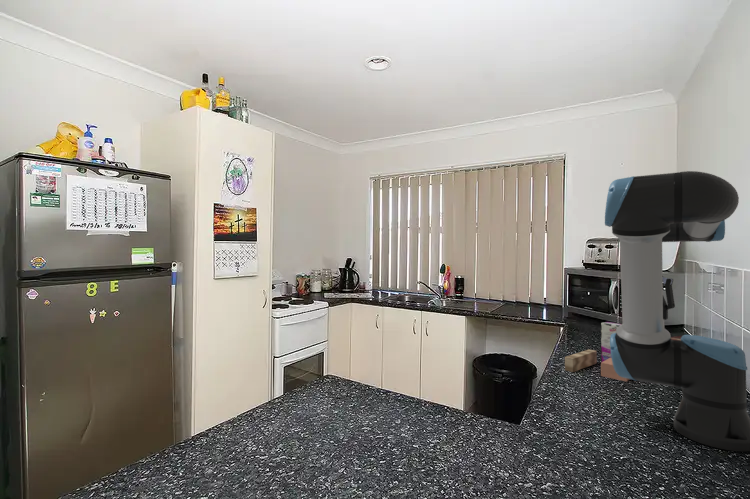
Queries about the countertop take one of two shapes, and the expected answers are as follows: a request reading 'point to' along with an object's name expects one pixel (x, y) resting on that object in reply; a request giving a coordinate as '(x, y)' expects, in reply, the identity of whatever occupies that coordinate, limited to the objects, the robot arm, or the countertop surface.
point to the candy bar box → (607, 338)
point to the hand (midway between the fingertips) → (648, 327)
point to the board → (580, 360)
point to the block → (610, 370)
